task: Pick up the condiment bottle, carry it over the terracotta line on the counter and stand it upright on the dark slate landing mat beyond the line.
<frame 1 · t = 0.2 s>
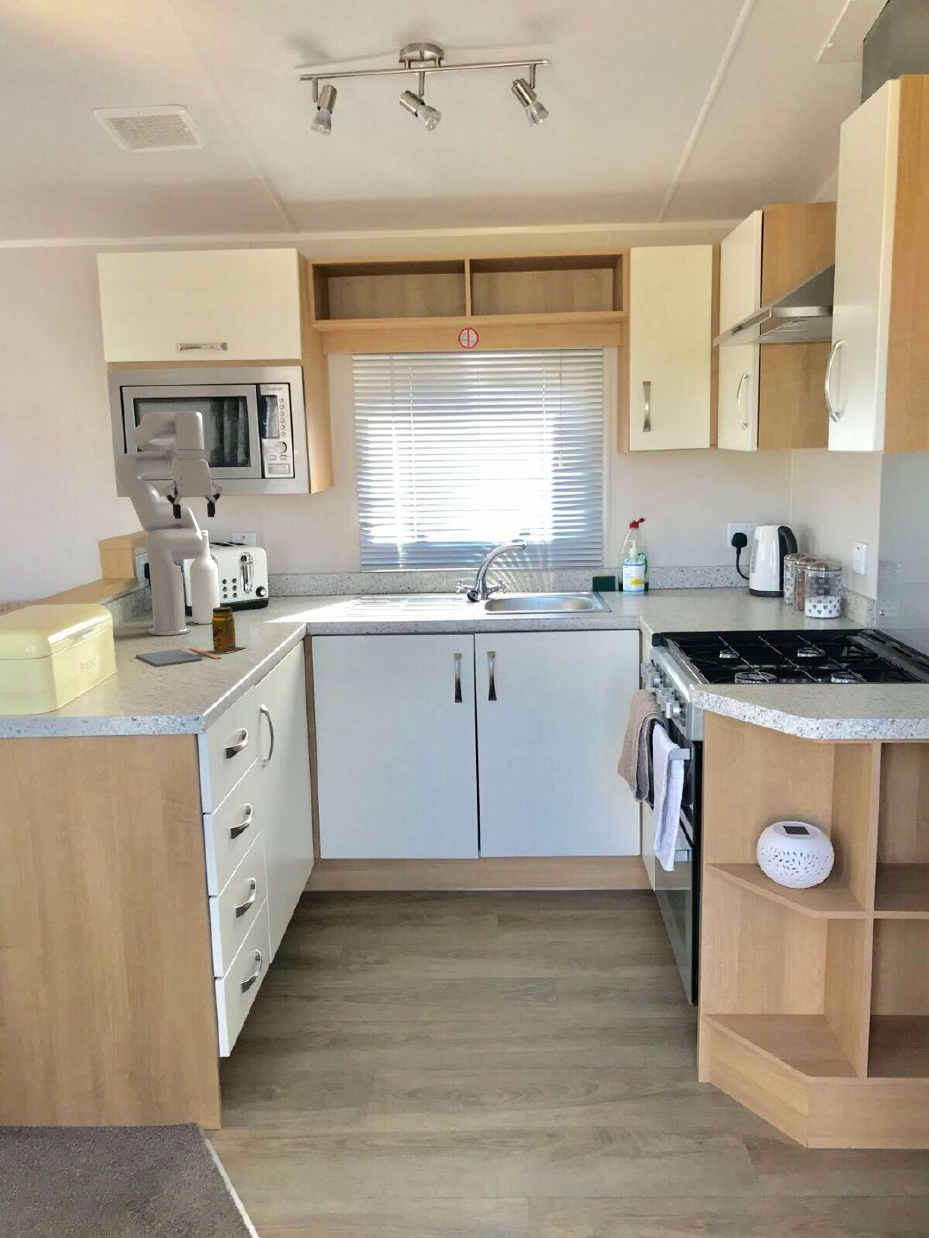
hand: (194, 517, 270), 36 cm above the table, fingers open, 9 cm apart
landing mat: (168, 658, 255), on the table
alcohol: (206, 622, 312), on the table
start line: (204, 653, 261), on the table
condiment: (227, 650, 266), on the table
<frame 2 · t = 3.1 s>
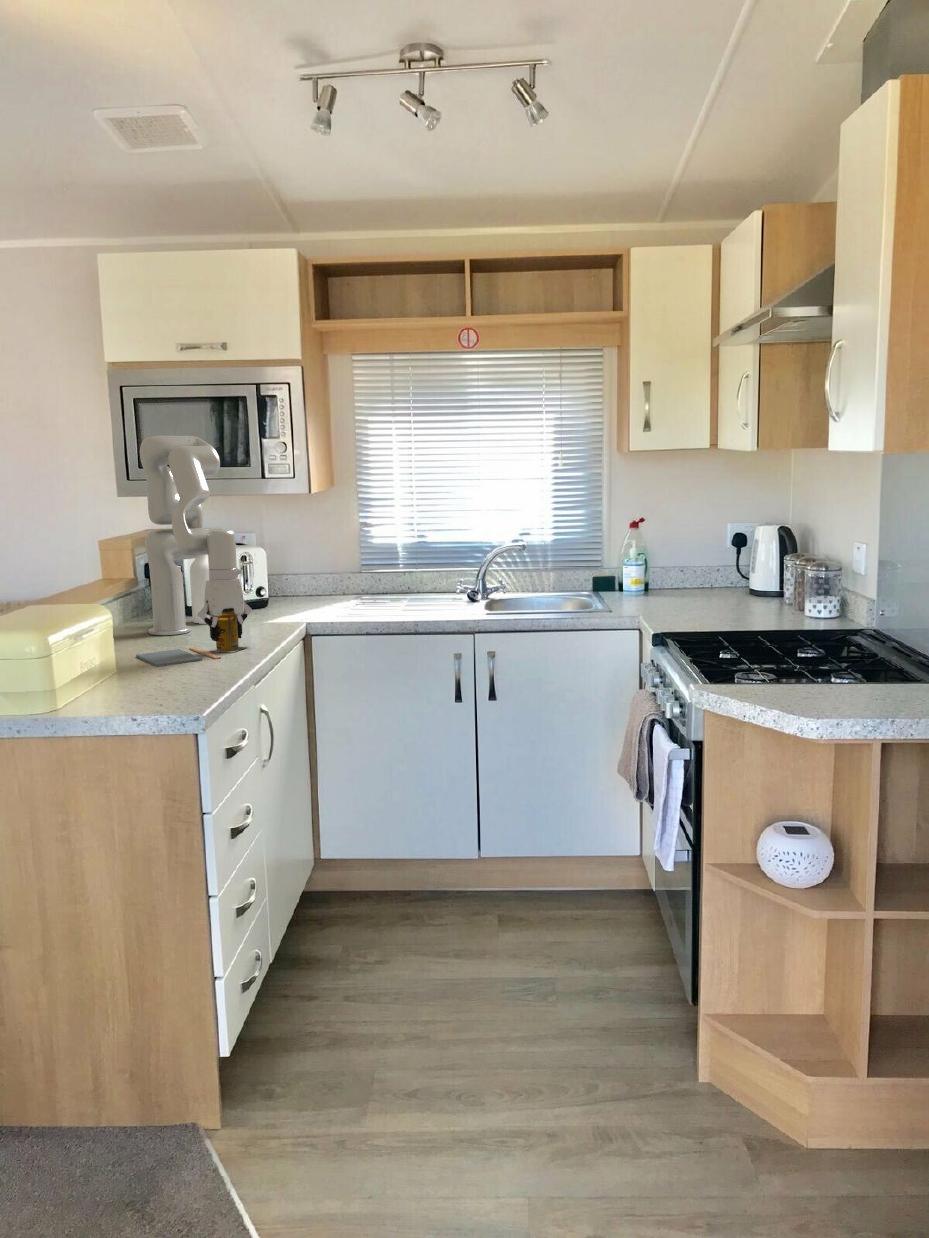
hand: (226, 638, 266), 3 cm above the table, fingers closed on condiment, 6 cm apart
condiment: (230, 650, 267), on the table, touching gripper
everything else where it was.
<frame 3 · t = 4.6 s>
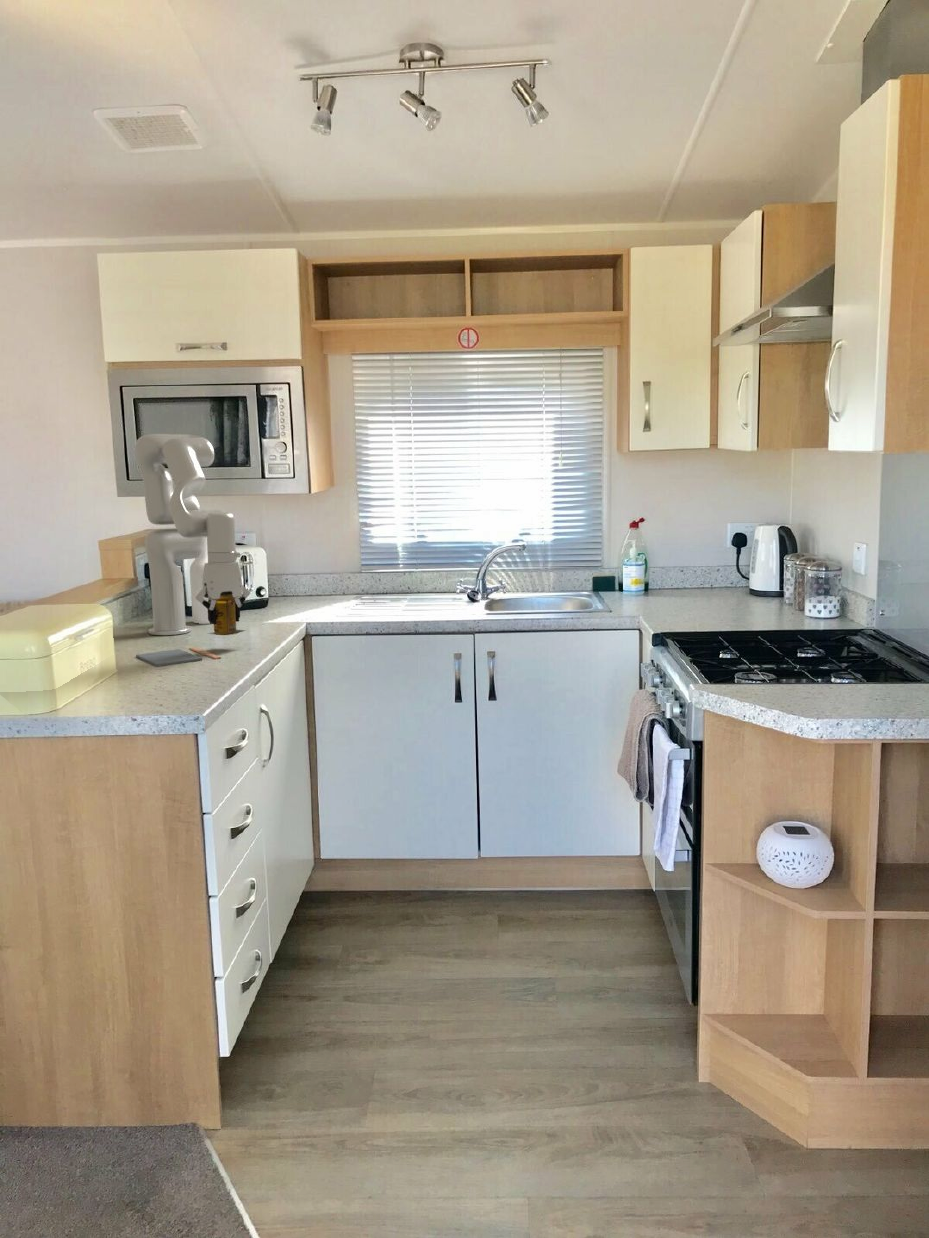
hand: (224, 621, 266), 8 cm above the table, fingers closed on condiment, 6 cm apart
condiment: (227, 633, 267), point 4 cm above the table, touching gripper
everything else where it was.
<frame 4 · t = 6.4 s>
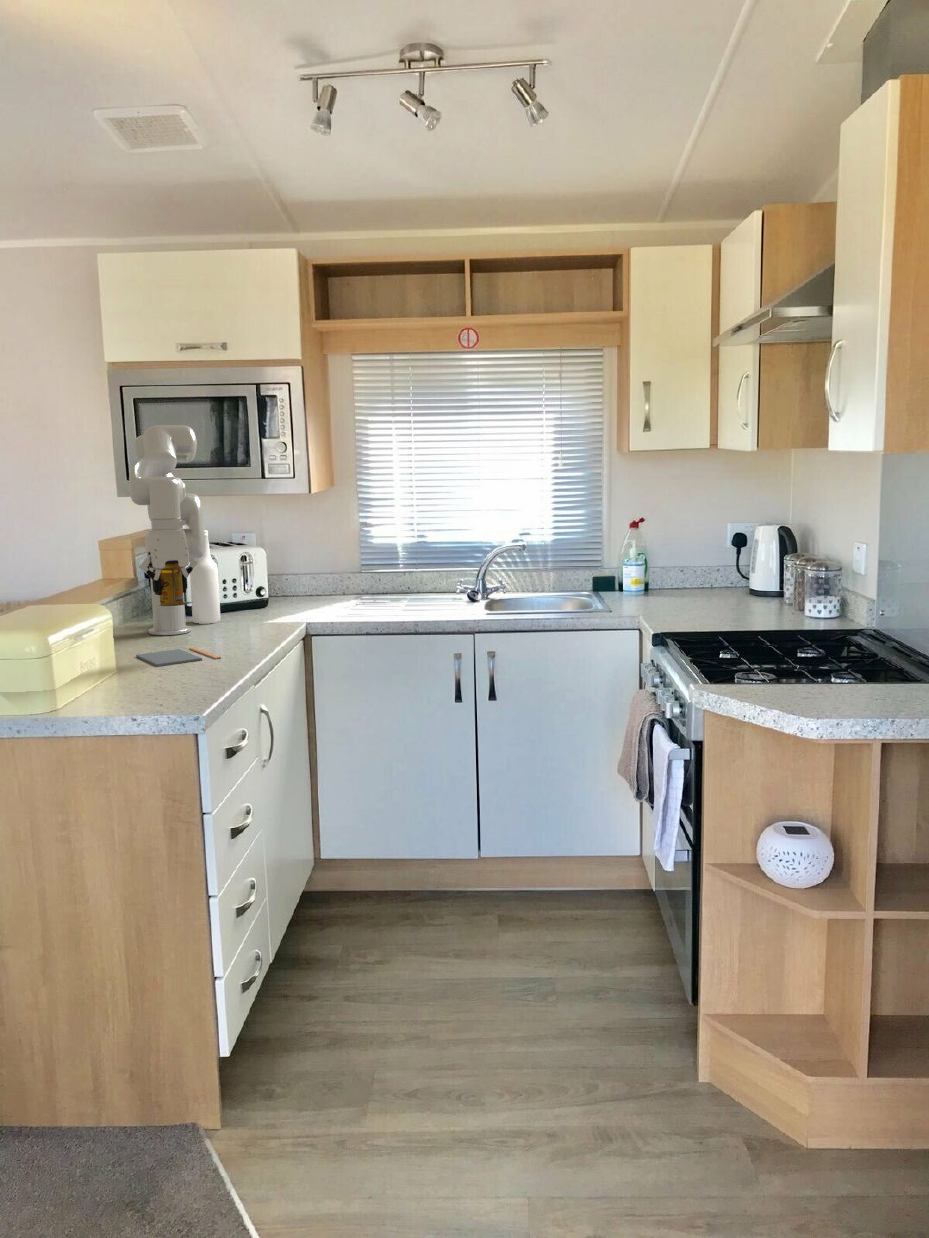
hand: (170, 592, 254), 18 cm above the table, fingers closed on condiment, 6 cm apart
condiment: (174, 605, 255), point 14 cm above the table, touching gripper
everything else where it was.
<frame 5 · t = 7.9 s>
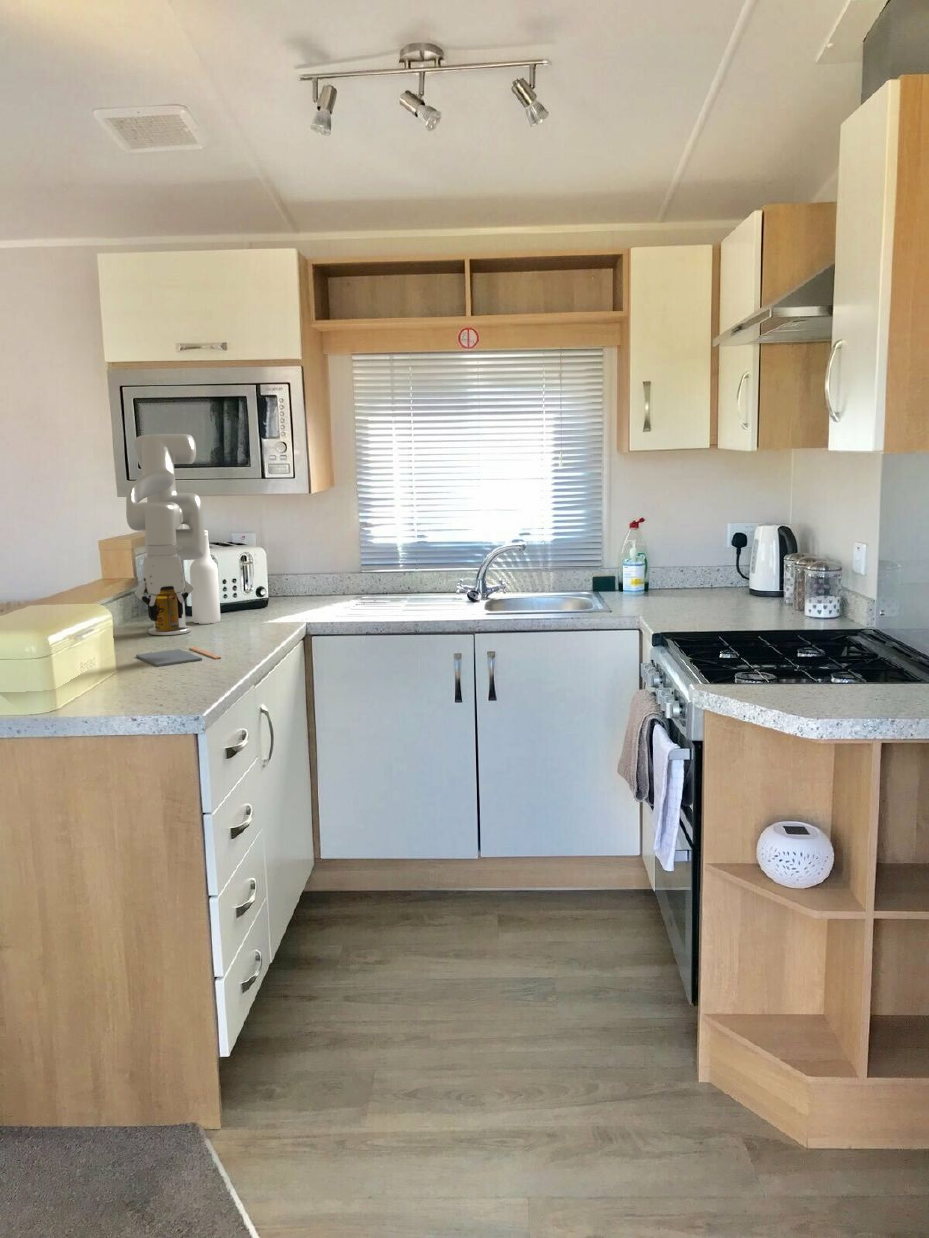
hand: (166, 618, 254), 11 cm above the table, fingers closed on condiment, 6 cm apart
condiment: (170, 630, 255), point 7 cm above the table, touching gripper
everything else where it was.
when the fingers open (5 cm above the table, at t = 9.4 s): condiment drops 1 cm, resting on landing mat.
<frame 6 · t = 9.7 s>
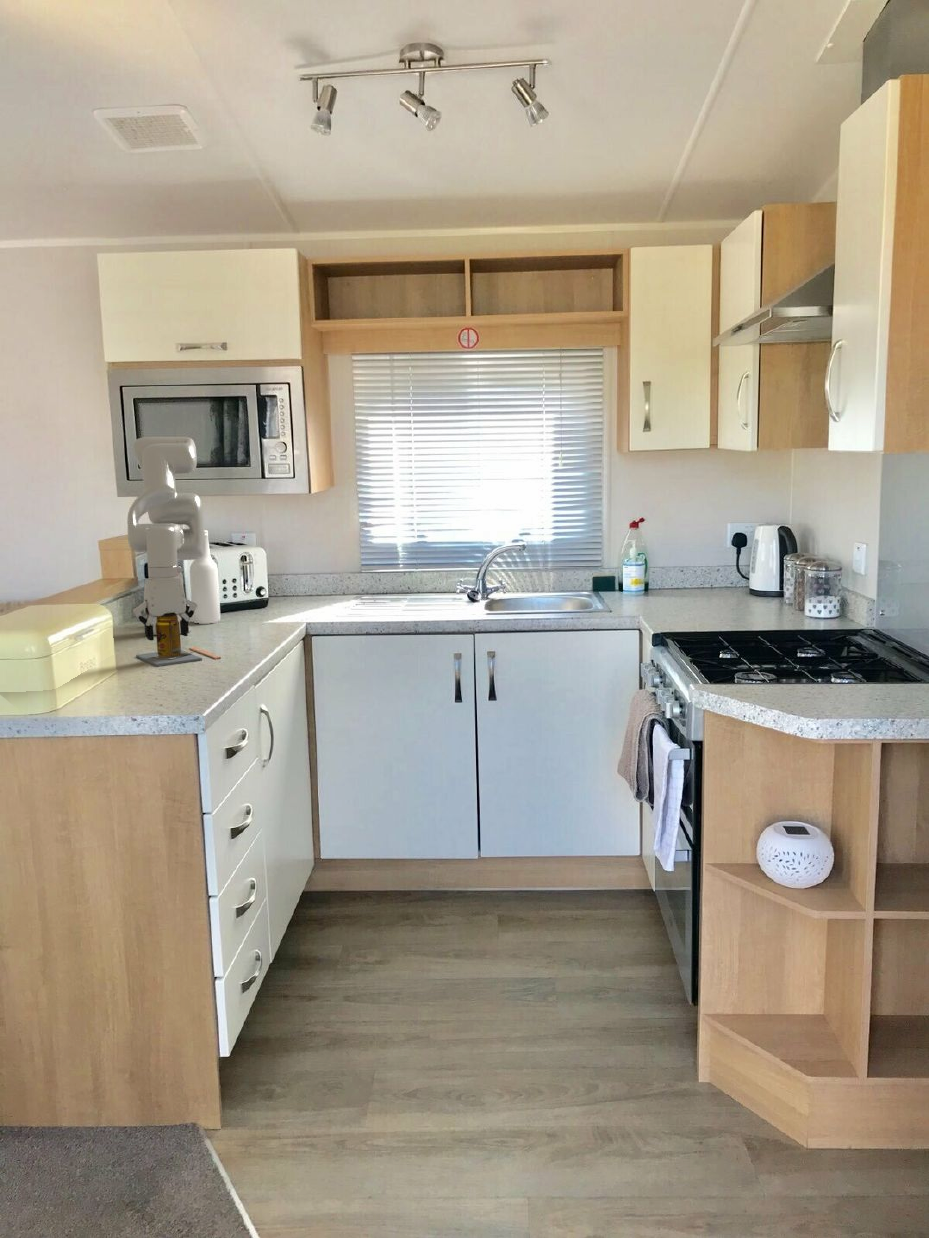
hand: (167, 637, 254), 6 cm above the table, fingers open, 8 cm apart
condiment: (172, 656, 256), resting on landing mat
everything else where it was.
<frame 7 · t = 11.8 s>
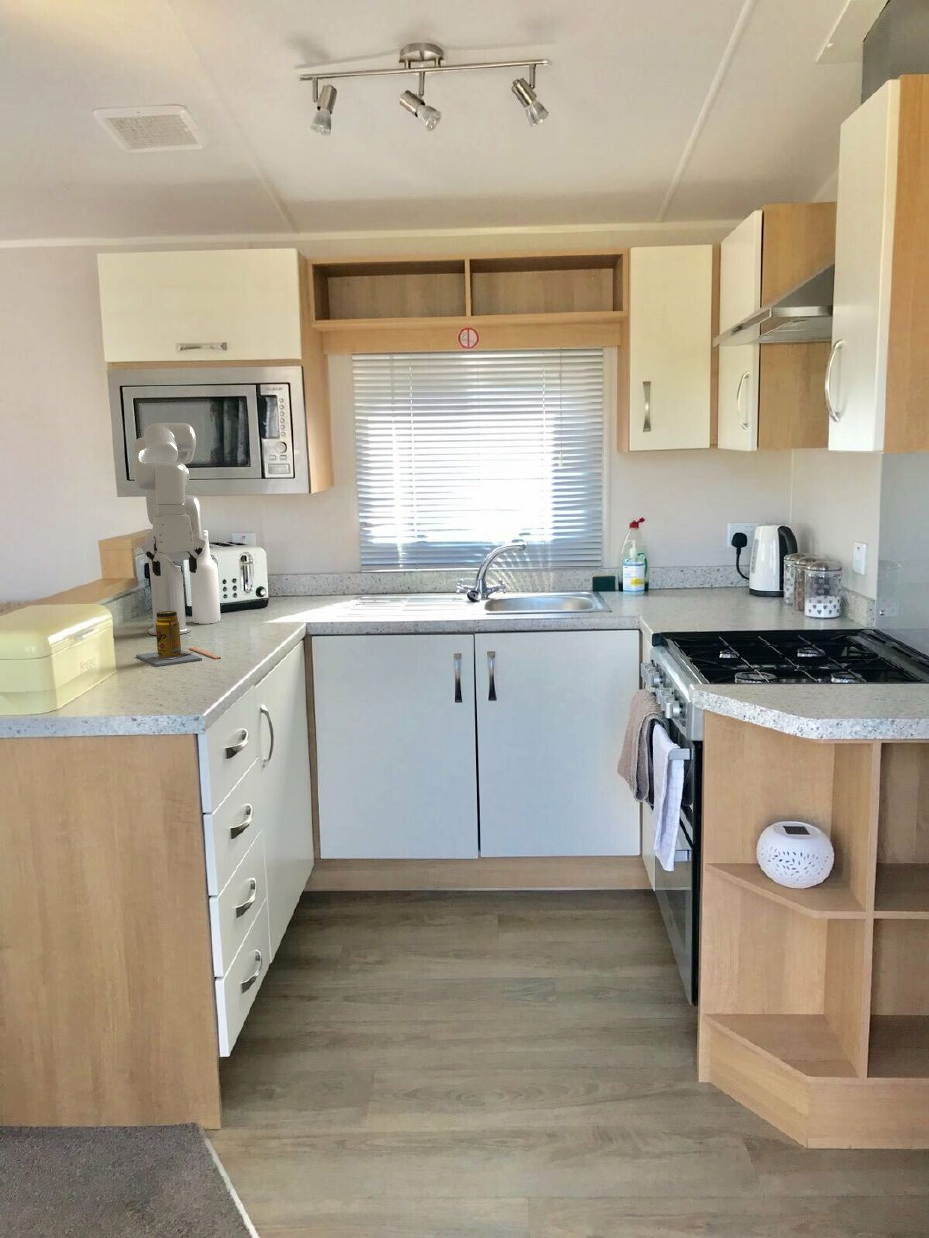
hand: (175, 573, 259), 22 cm above the table, fingers open, 9 cm apart
nothing on the table moved.
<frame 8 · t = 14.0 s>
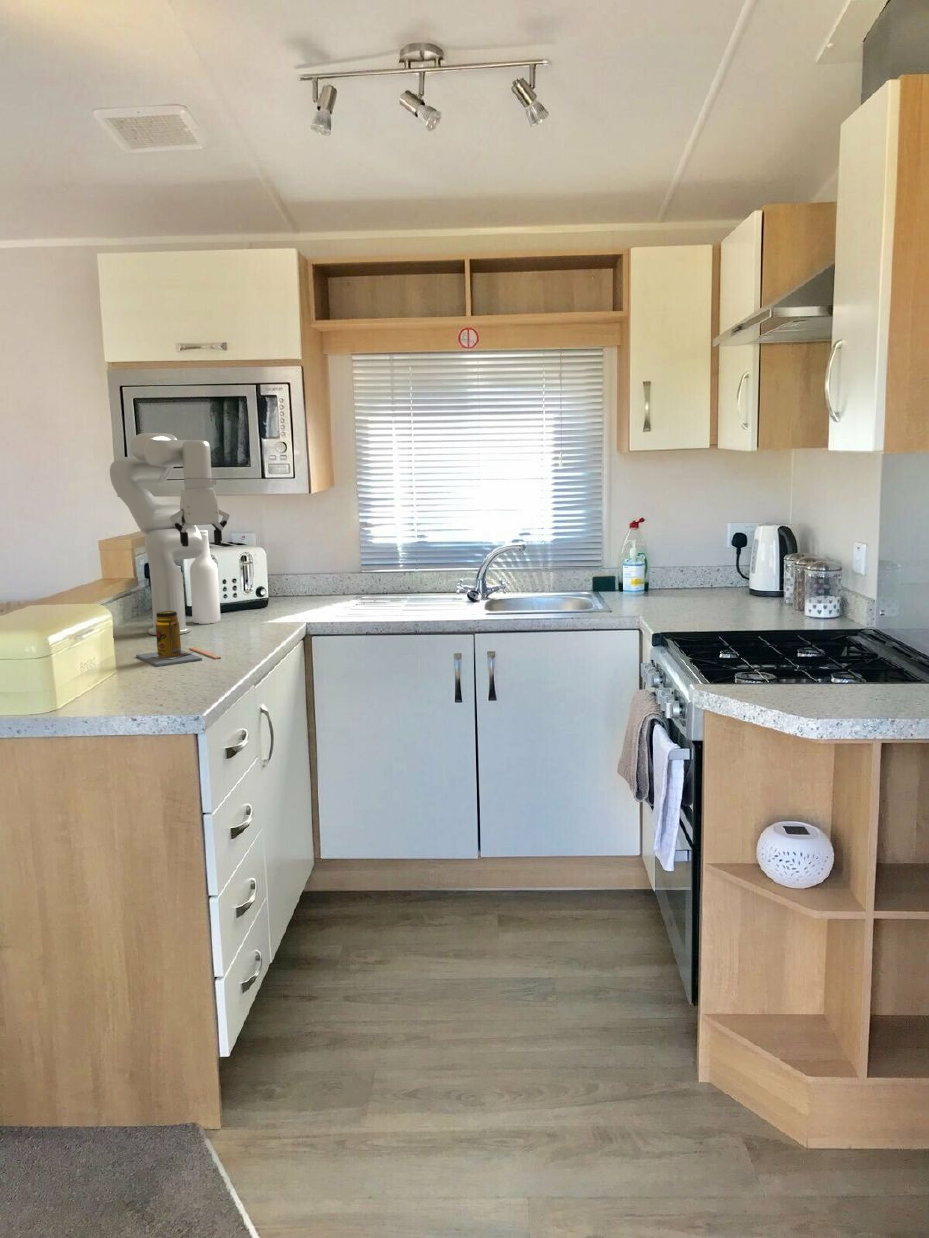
hand: (201, 545, 273), 28 cm above the table, fingers open, 9 cm apart
nothing on the table moved.
at the end: condiment inside the target area (1.4 cm from its centre), resting on landing mat; condiment tilted 0°; the gripper is holding nothing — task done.
